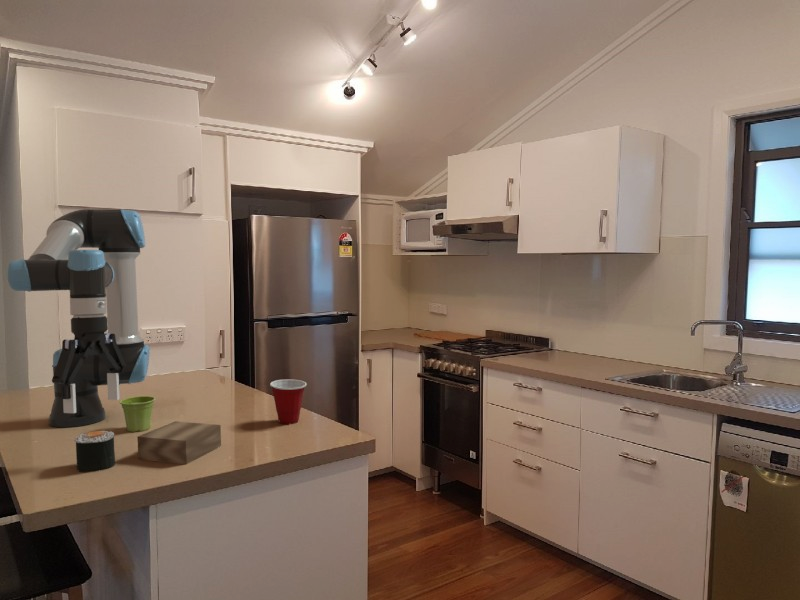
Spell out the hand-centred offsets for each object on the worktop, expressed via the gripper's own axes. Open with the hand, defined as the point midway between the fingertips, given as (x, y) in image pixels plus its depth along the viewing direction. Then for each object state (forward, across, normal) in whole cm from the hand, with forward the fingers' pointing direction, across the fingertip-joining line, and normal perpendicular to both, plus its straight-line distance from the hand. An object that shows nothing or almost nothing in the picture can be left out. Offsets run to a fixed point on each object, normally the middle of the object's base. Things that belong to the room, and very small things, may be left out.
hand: (93, 405), depth 136 cm
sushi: (+15, 0, 0) cm, 15 cm away
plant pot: (+14, +29, +11) cm, 35 cm away
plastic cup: (+14, +45, -29) cm, 56 cm away
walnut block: (+15, +13, -14) cm, 24 cm away
